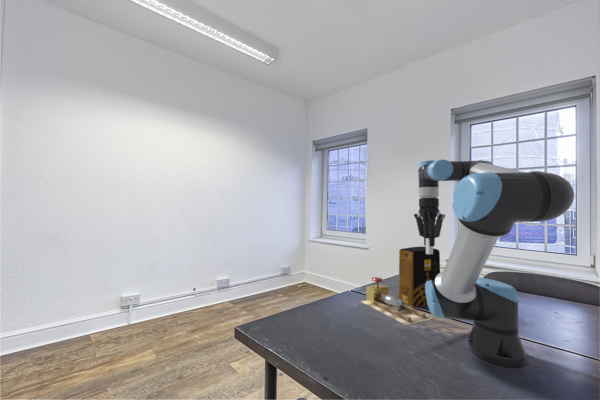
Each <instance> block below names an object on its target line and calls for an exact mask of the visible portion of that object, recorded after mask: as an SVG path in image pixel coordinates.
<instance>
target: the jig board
mask: <svg viewBox="0 0 600 400" xmlns="http://www.w3.org/2000/svg"><path fill="white" fill-rule="evenodd" d="M360 302H361V303H362V304H365V305H366V306H368V307H371V308H372V309H374V310H376V311H378V312H380V313H382V314H384V315H385V316H388V317H389V318H391V319H394V320H395V321H397V322H400V323H401V324H403V325H405V326H410V325H414V324H417V323H422V322H425V321H428V320H432V319H435V316H431V315H428V314H427V313H426V312H423V311H420V310H418V309H416V308H415V307H412V306H409V305H407V304H404V307H403V309H402V310H401V311H398V310H395V309H393V308H391V307H388V306H386V305H384V304H382V303H380V302H378V301H372V303H371V302H369V301H367V299H366V300H365V299H364V300H360Z"/></svg>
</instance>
